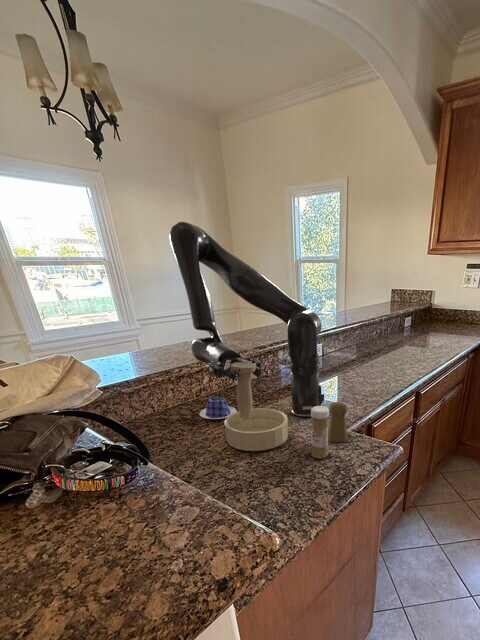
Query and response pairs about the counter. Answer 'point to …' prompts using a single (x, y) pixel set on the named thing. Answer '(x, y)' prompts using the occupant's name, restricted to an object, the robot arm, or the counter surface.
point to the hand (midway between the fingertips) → (246, 374)
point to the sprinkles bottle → (319, 431)
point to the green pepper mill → (337, 422)
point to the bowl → (257, 430)
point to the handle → (244, 387)
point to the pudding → (217, 409)
